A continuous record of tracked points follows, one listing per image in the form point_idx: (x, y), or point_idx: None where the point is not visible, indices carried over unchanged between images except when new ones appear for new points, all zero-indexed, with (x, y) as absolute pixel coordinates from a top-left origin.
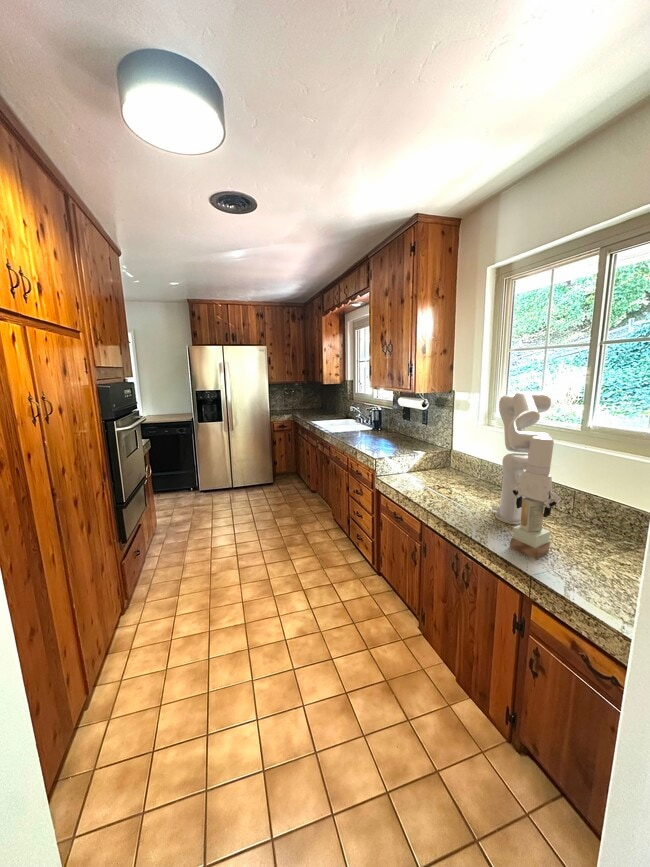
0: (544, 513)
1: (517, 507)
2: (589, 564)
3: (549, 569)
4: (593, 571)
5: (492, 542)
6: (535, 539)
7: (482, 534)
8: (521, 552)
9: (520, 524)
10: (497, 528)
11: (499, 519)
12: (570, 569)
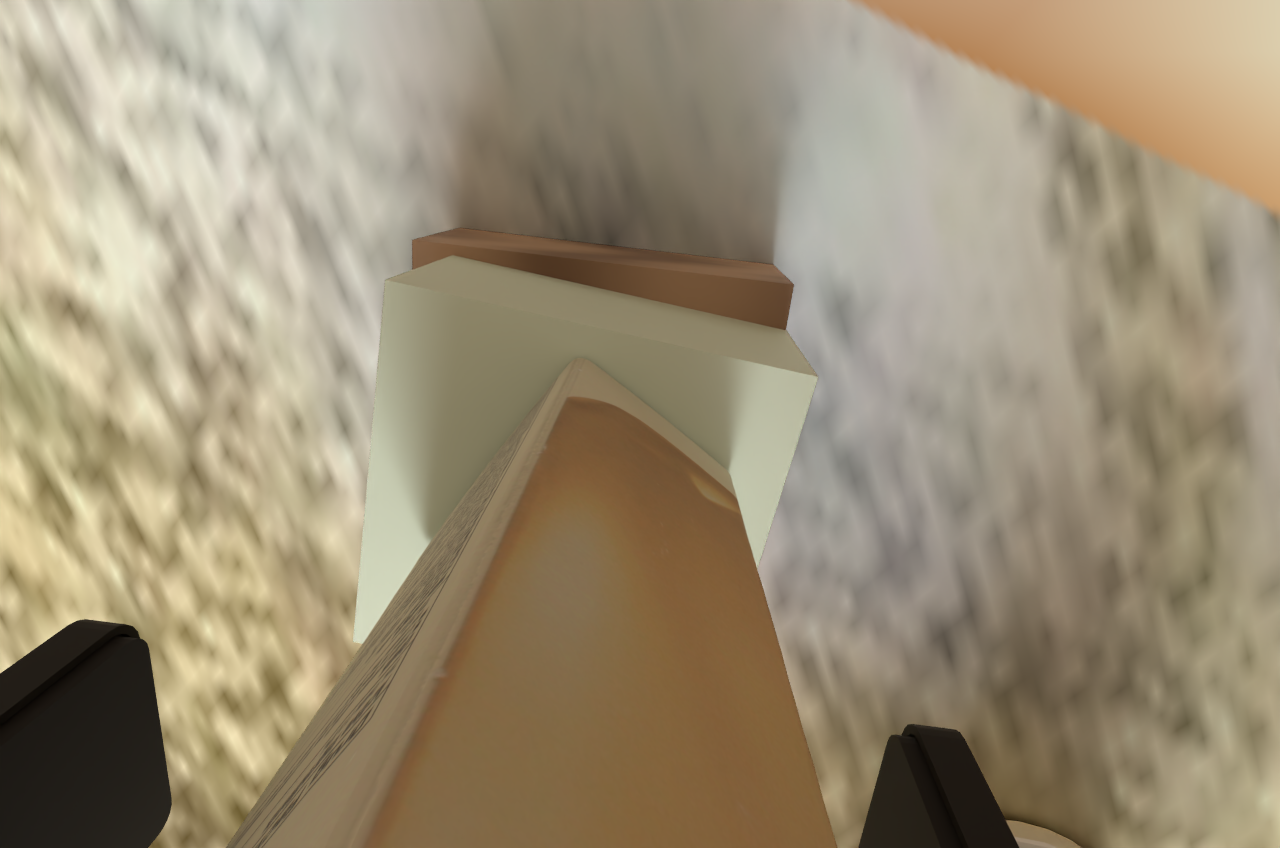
0: (13, 701)
1: (935, 739)
2: (125, 525)
3: (284, 106)
4: (42, 416)
5: (986, 261)
6: (424, 276)
7: (1147, 381)
8: (632, 248)
9: (733, 487)
10: (1024, 650)
11: (1058, 839)
12: (167, 289)
